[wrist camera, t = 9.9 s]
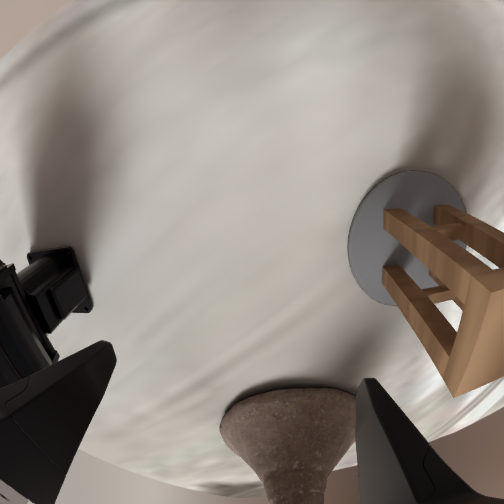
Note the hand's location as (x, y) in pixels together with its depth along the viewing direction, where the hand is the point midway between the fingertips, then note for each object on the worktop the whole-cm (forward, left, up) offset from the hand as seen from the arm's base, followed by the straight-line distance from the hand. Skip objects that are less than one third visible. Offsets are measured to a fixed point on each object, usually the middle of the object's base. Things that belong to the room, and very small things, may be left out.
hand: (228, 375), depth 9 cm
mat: (+13, -1, -13) cm, 18 cm away
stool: (+13, -1, -12) cm, 18 cm away
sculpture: (+3, -23, -13) cm, 26 cm away
